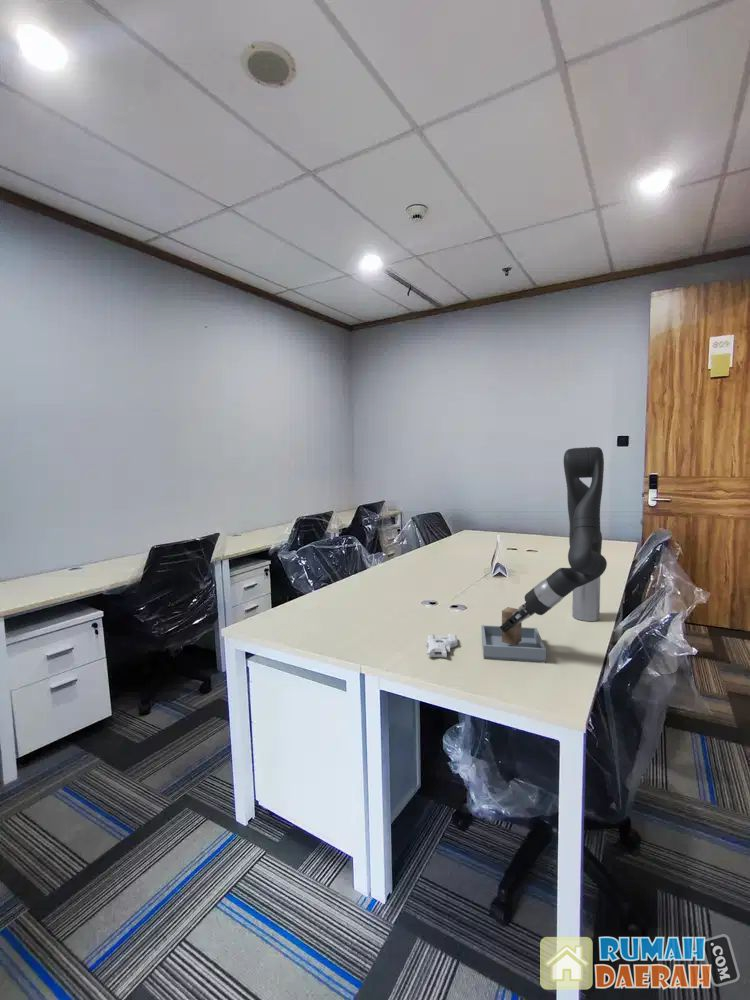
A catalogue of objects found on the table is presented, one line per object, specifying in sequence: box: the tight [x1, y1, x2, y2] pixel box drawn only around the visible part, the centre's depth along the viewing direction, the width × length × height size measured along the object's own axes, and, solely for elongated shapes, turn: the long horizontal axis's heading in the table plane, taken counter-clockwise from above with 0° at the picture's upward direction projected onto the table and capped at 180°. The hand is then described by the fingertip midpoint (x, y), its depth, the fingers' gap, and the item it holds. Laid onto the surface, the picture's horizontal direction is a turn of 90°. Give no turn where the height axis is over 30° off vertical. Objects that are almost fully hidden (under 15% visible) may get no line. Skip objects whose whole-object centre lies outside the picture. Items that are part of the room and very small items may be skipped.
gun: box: [425, 633, 459, 658], centre depth 145 cm, size 18×4×10 cm
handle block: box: [501, 606, 523, 645], centre depth 143 cm, size 4×4×10 cm
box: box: [481, 624, 547, 663], centre depth 143 cm, size 18×18×4 cm
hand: (505, 627), depth 144 cm, fingers closed on handle block, 4 cm apart
